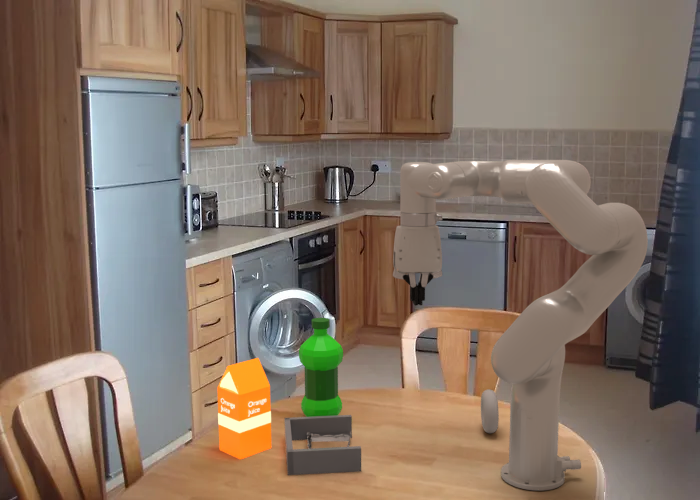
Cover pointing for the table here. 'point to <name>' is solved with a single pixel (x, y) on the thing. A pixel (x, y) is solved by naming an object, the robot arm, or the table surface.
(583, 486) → the table surface
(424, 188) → the robot arm
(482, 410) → the donut
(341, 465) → the tray
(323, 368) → the plastic bottle
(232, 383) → the orange juice
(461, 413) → the table surface
